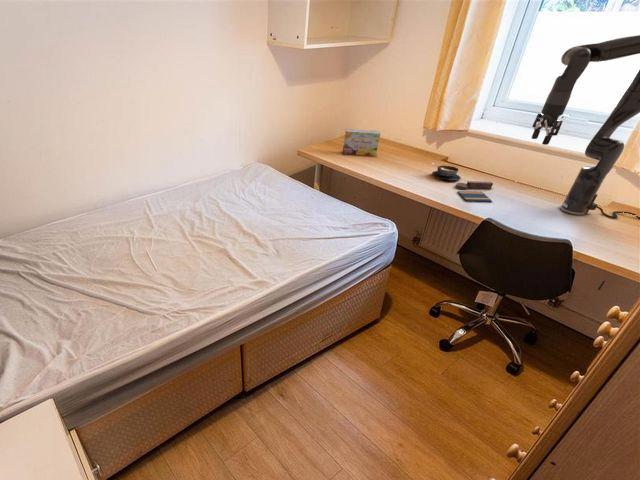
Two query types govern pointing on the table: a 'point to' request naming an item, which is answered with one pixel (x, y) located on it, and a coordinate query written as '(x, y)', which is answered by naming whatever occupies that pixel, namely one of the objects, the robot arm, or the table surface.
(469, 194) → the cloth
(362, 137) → the snack box
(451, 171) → the black cup and saucer
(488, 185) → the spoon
